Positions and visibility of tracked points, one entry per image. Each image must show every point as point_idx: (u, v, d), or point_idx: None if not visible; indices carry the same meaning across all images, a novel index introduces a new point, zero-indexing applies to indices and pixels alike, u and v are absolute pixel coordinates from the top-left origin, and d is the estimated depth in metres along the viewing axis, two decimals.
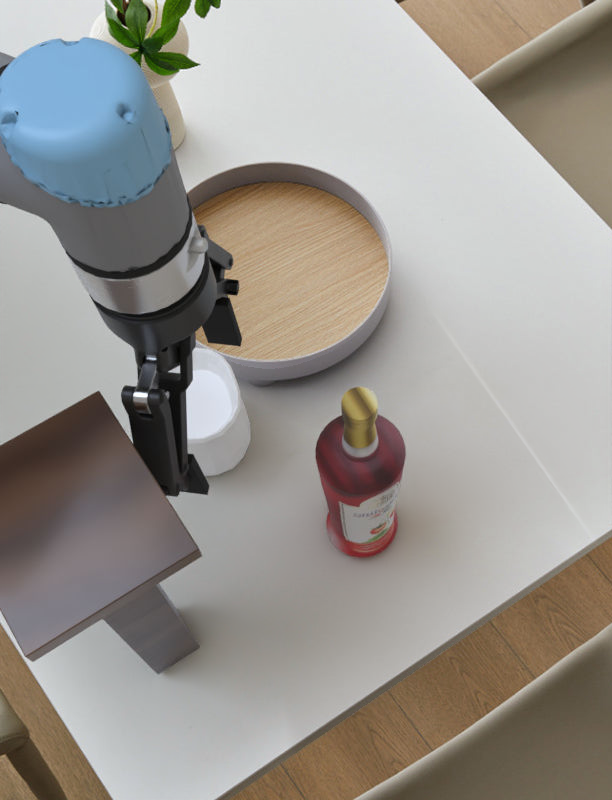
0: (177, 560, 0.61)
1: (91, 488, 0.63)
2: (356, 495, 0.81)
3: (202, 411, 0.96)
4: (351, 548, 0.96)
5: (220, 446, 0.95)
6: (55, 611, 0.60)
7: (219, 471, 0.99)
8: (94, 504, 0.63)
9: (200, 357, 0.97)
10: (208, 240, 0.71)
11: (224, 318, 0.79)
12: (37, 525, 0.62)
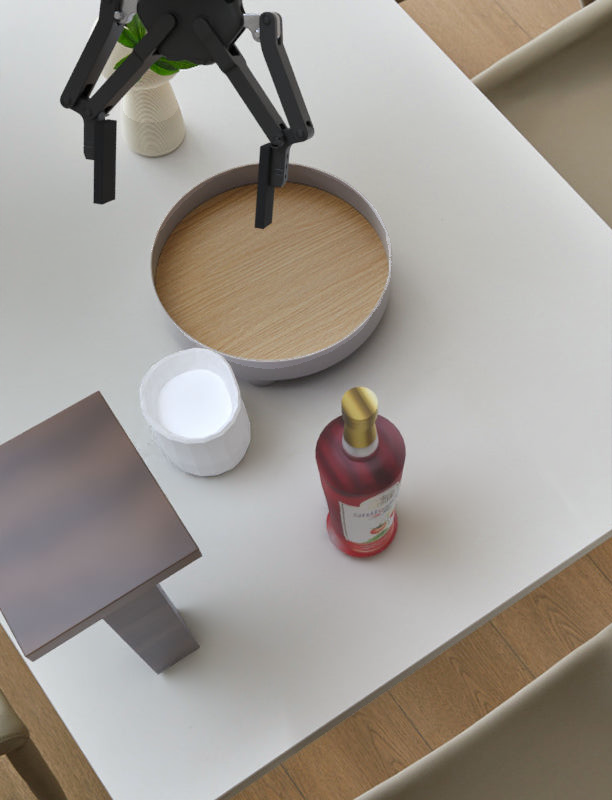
0: (177, 560, 0.61)
1: (91, 488, 0.63)
2: (356, 495, 0.81)
3: (202, 411, 0.96)
4: (351, 548, 0.96)
5: (220, 446, 0.95)
6: (55, 611, 0.60)
7: (219, 471, 0.99)
8: (94, 504, 0.63)
9: (200, 357, 0.97)
10: None
11: (113, 146, 0.84)
12: (37, 525, 0.62)
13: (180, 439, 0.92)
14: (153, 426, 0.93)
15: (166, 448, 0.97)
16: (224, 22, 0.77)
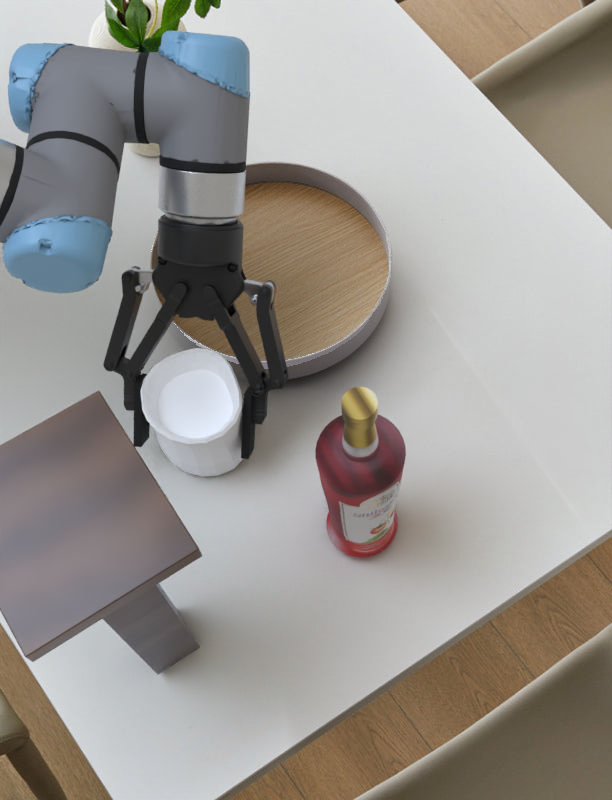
0: (177, 560, 0.61)
1: (91, 488, 0.63)
2: (356, 495, 0.81)
3: (203, 412, 0.96)
4: (351, 548, 0.96)
5: (221, 446, 0.95)
6: (55, 611, 0.60)
7: (220, 471, 0.99)
8: (94, 504, 0.63)
9: (200, 357, 0.97)
10: None
11: None
12: (37, 525, 0.62)
13: (181, 439, 0.92)
14: (154, 427, 0.93)
15: (167, 448, 0.97)
16: (228, 287, 0.92)
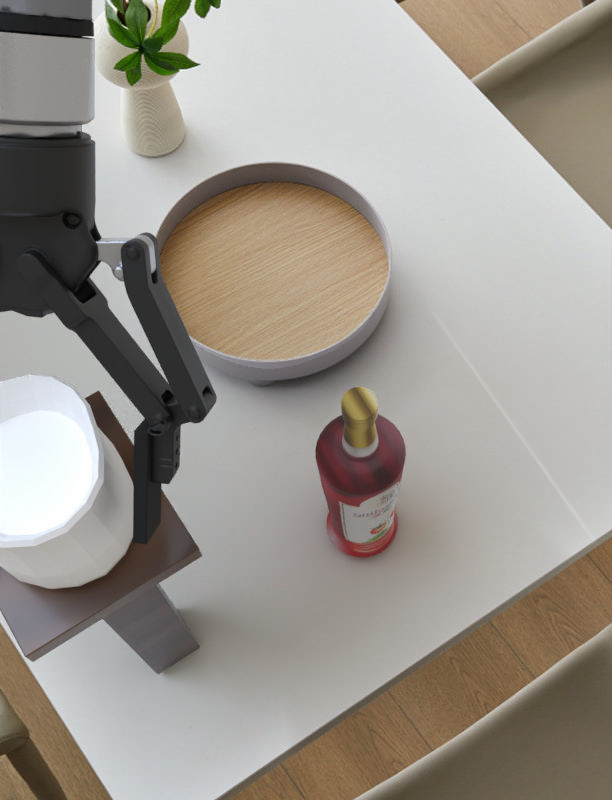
0: (177, 560, 0.61)
1: None
2: (356, 495, 0.81)
3: (43, 485, 0.56)
4: (351, 548, 0.96)
5: (71, 546, 0.55)
6: (55, 611, 0.60)
7: (80, 582, 0.59)
8: None
9: (39, 390, 0.56)
10: None
11: None
12: None
13: None
14: None
15: None
16: (67, 256, 0.50)
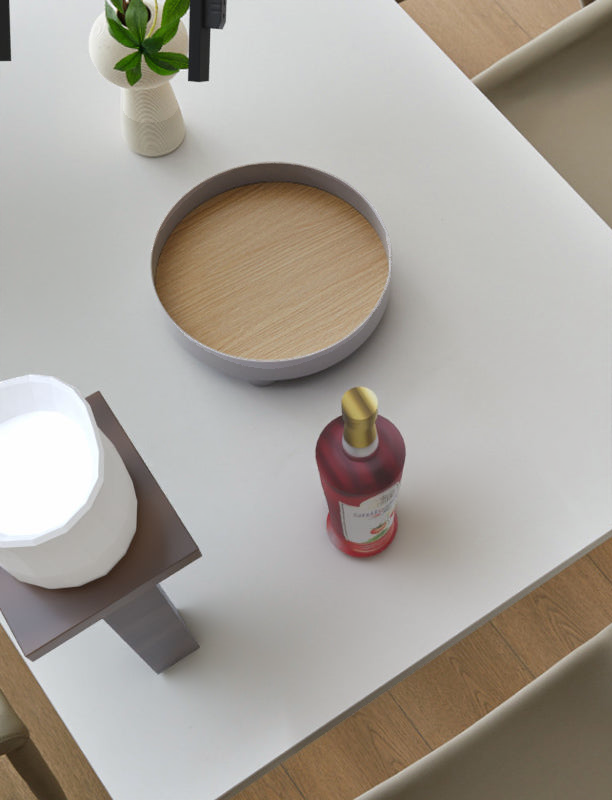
0: (177, 560, 0.61)
1: None
2: (356, 495, 0.81)
3: (43, 485, 0.56)
4: (351, 548, 0.96)
5: (71, 546, 0.55)
6: (55, 611, 0.60)
7: (80, 582, 0.59)
8: None
9: (39, 390, 0.56)
10: None
11: None
12: None
13: None
14: None
15: None
16: None
